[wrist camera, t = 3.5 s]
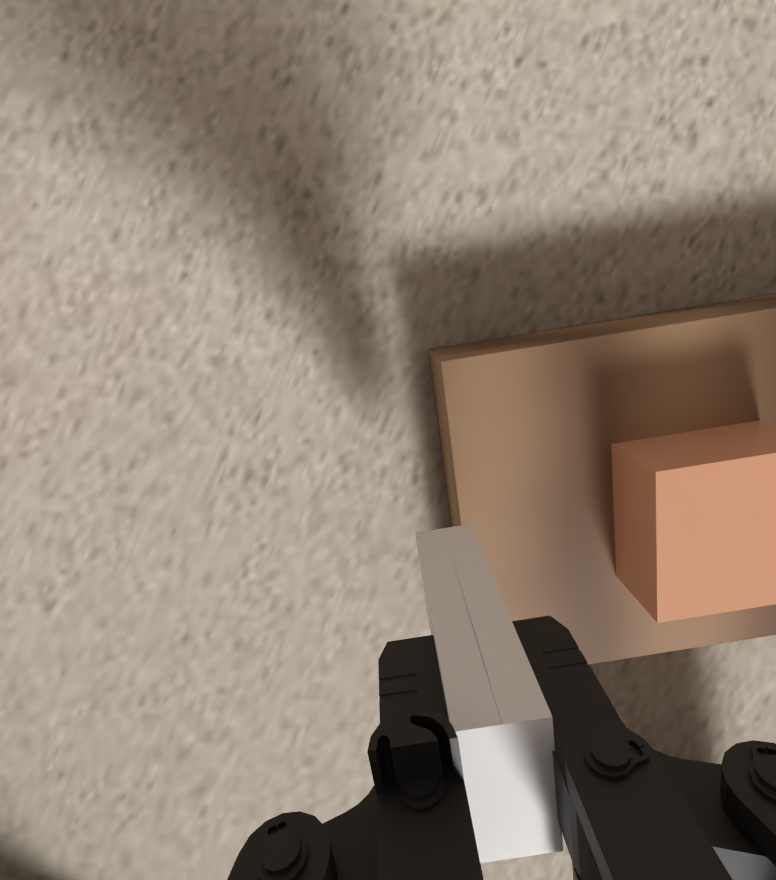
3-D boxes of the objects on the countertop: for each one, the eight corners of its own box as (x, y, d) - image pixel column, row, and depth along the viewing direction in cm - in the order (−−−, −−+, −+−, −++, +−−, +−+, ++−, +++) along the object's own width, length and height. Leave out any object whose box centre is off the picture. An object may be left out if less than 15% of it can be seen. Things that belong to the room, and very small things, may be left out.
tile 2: (615, 575, 17) (657, 623, 15) (611, 444, 16) (655, 471, 13) (754, 553, 17) (817, 597, 15) (760, 420, 16) (831, 443, 13)
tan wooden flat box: (464, 627, 21) (481, 681, 18) (428, 349, 18) (440, 361, 15) (965, 547, 21) (1062, 588, 18) (1016, 255, 18) (1143, 248, 15)
